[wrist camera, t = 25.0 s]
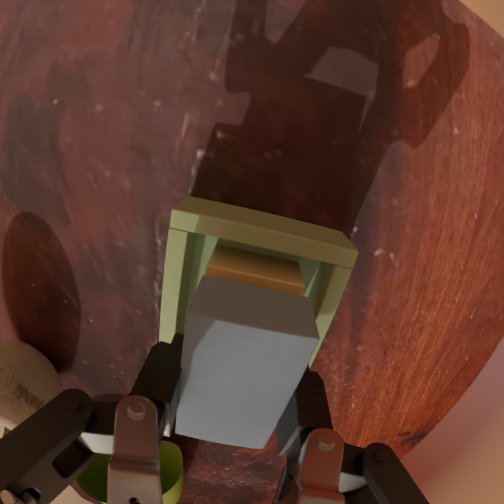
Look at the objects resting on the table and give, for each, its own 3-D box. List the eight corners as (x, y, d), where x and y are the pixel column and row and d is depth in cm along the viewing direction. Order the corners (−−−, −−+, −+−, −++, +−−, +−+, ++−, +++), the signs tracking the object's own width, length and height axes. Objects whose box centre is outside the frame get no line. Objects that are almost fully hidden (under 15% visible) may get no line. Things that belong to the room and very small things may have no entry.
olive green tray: (189, 195, 13) (171, 208, 11) (342, 231, 14) (359, 251, 11) (169, 359, 17) (157, 390, 14) (283, 382, 17) (285, 415, 15)
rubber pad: (202, 273, 10) (186, 311, 8) (309, 296, 10) (321, 338, 8) (185, 395, 13) (174, 433, 10) (263, 410, 13) (263, 449, 11)
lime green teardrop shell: (38, 474, 11) (109, 519, 20) (184, 502, 14) (199, 528, 22) (56, 405, 18) (112, 475, 27) (182, 421, 21) (194, 482, 29)
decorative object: (8, 303, 16) (-64, 372, 7) (88, 362, 18) (28, 460, 8) (14, 362, 19) (-34, 423, 10) (80, 410, 21) (41, 485, 11)
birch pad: (216, 243, 13) (206, 264, 11) (298, 261, 14) (305, 286, 11) (196, 353, 16) (188, 382, 14) (263, 366, 16) (262, 397, 14)
